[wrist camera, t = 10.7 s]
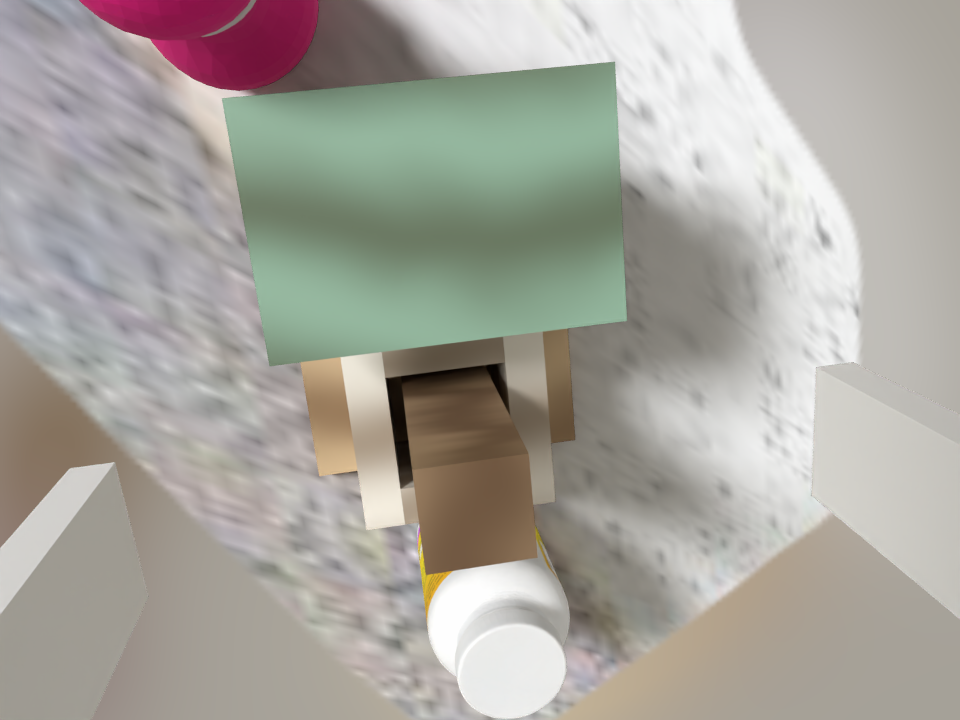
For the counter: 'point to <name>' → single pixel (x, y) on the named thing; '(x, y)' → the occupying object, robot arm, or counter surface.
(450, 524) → the walnut peg
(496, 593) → the supplement bottle
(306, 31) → the pepper mill
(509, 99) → the awning station
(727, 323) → the counter surface
